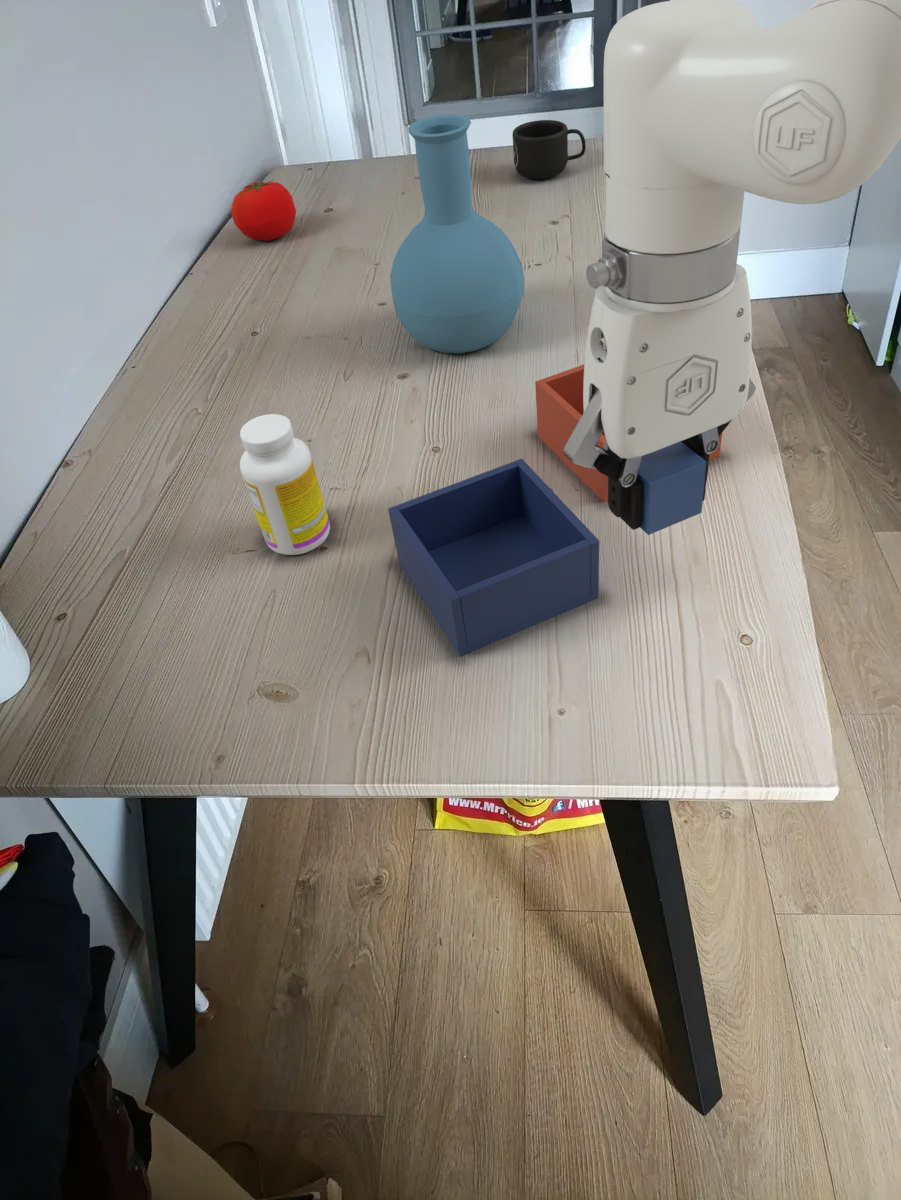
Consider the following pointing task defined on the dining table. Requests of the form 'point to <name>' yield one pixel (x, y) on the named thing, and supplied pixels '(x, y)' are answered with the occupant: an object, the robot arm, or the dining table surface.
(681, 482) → the blue block
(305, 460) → the supplement bottle
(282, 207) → the tomato
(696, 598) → the dining table surface
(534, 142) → the mug
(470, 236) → the vase
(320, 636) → the dining table surface
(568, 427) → the red bin
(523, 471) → the blue bin
